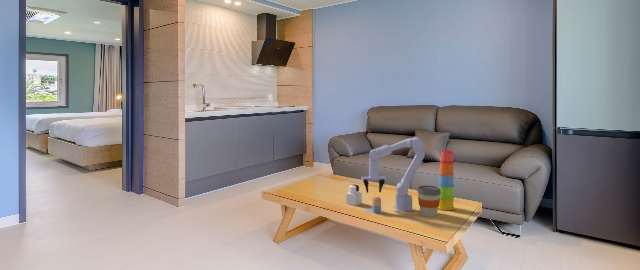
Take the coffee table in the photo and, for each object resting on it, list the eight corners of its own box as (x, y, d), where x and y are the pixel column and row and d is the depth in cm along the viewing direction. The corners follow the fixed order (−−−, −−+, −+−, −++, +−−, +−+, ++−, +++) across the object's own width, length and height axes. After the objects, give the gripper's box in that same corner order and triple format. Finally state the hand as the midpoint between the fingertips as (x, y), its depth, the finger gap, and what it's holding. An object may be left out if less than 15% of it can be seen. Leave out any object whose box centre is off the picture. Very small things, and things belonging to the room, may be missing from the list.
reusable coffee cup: (413, 211, 213) (413, 186, 212) (432, 209, 216) (433, 184, 215) (424, 218, 201) (424, 191, 199) (444, 216, 204) (445, 190, 202)
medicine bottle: (352, 201, 233) (352, 183, 232) (361, 203, 229) (362, 184, 227) (346, 204, 228) (346, 185, 226) (355, 206, 223) (355, 187, 222)
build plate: (379, 208, 219) (379, 207, 219) (384, 213, 209) (384, 212, 209) (363, 208, 219) (363, 207, 218) (367, 213, 209) (367, 213, 209)
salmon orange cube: (379, 203, 213) (379, 197, 213) (380, 205, 209) (381, 199, 209) (372, 204, 213) (372, 197, 212) (374, 206, 209) (374, 199, 208)
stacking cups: (433, 207, 220) (434, 151, 216) (443, 204, 226) (444, 149, 222) (448, 212, 211) (450, 153, 208) (458, 208, 218) (460, 151, 214)
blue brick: (379, 210, 213) (379, 203, 213) (380, 212, 209) (380, 206, 209) (372, 210, 213) (372, 204, 212) (374, 213, 209) (374, 206, 208)
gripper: (384, 168, 221) (383, 190, 223) (360, 168, 220) (360, 190, 221) (387, 170, 214) (386, 193, 216) (362, 171, 213) (362, 193, 214)
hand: (373, 192), depth 218 cm, fingers open, 7 cm apart
